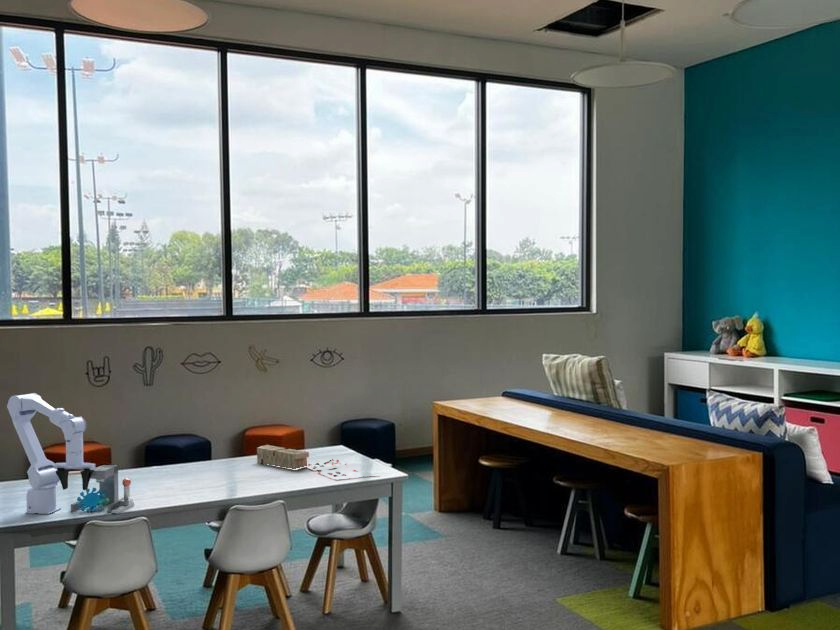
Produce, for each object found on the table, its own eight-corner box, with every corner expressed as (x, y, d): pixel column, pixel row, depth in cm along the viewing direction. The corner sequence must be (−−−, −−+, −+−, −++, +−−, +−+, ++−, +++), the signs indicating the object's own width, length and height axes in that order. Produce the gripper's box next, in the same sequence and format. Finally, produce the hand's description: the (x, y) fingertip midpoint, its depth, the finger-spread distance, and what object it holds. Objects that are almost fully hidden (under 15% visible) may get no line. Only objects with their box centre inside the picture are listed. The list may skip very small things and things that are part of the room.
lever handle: (121, 505, 307) (120, 479, 307) (125, 502, 310) (124, 477, 310) (128, 505, 306) (128, 479, 306) (132, 503, 309) (132, 477, 309)
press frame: (68, 512, 301) (68, 474, 301) (92, 500, 317) (91, 464, 317) (117, 513, 299) (117, 475, 298) (138, 502, 315) (138, 465, 315)
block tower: (255, 465, 387) (296, 471, 368) (254, 447, 387) (295, 452, 368) (268, 462, 393) (309, 468, 374) (267, 444, 393) (308, 450, 374)
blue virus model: (73, 509, 299) (80, 485, 306) (74, 517, 303) (81, 494, 310) (105, 511, 301) (111, 488, 308) (106, 520, 305) (112, 496, 312)
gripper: (49, 453, 293) (49, 491, 294) (87, 454, 292) (88, 492, 292) (60, 449, 300) (60, 486, 301) (98, 450, 299) (98, 487, 299)
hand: (75, 489), depth 297 cm, fingers open, 7 cm apart
